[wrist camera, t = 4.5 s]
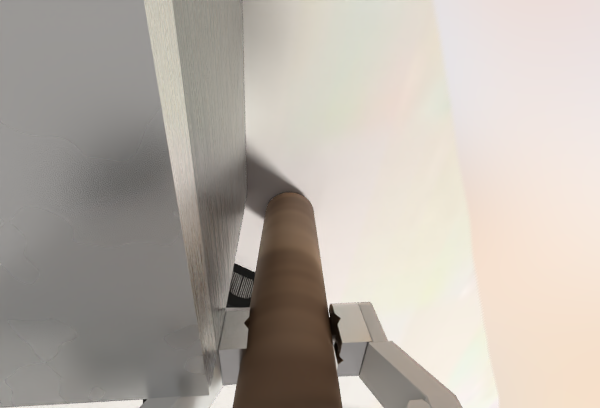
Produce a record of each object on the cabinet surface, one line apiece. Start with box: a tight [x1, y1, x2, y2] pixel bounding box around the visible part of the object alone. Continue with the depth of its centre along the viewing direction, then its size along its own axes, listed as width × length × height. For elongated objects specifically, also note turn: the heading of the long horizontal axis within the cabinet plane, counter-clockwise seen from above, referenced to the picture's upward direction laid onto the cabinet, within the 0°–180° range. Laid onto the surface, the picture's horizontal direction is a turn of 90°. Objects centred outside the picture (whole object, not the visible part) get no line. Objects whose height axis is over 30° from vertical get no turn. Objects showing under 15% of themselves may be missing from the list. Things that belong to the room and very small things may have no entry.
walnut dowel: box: [233, 192, 342, 408], centre depth 12 cm, size 3×3×11 cm
